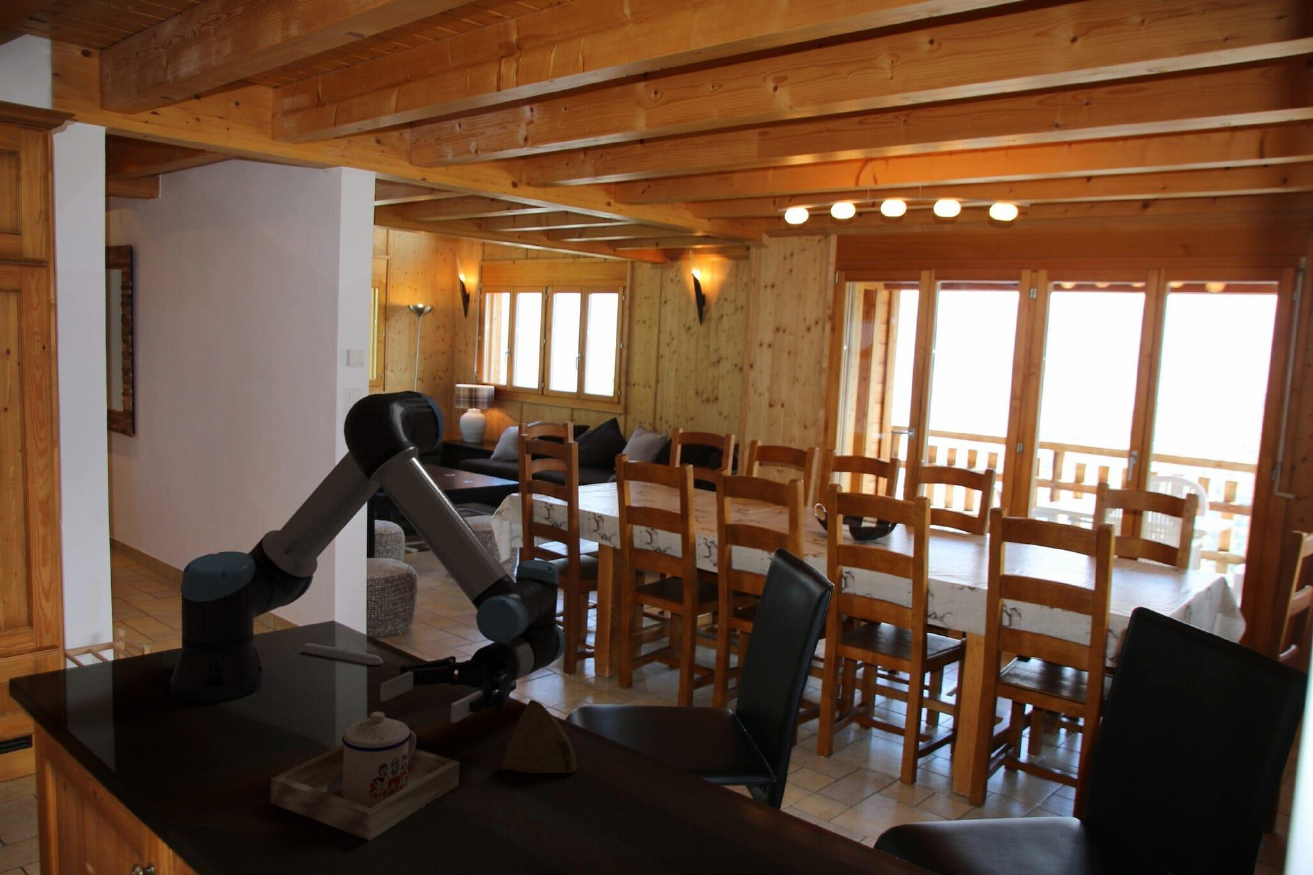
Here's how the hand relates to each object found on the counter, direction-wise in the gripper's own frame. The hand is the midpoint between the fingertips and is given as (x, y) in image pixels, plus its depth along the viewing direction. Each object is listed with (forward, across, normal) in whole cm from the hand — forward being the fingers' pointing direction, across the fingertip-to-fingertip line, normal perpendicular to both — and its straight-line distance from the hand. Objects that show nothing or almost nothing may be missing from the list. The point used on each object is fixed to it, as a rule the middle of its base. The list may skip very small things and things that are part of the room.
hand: (416, 702), depth 140 cm
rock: (-10, -16, -10) cm, 22 cm away
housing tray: (+10, 0, -10) cm, 14 cm away
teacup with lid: (+9, -2, -9) cm, 13 cm away
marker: (-29, +43, -11) cm, 53 cm away
